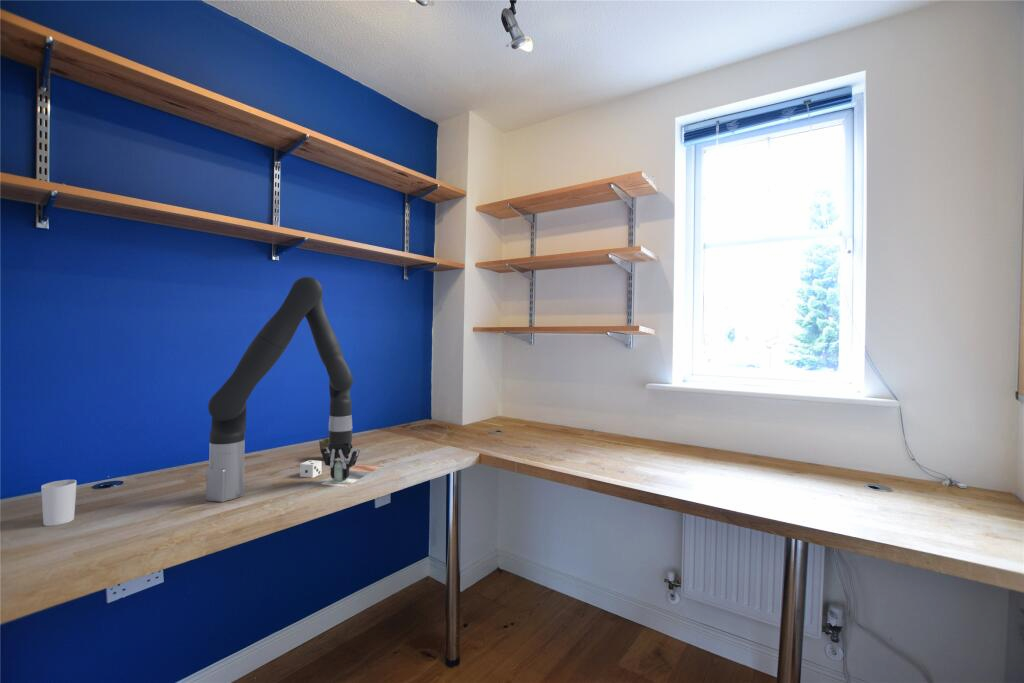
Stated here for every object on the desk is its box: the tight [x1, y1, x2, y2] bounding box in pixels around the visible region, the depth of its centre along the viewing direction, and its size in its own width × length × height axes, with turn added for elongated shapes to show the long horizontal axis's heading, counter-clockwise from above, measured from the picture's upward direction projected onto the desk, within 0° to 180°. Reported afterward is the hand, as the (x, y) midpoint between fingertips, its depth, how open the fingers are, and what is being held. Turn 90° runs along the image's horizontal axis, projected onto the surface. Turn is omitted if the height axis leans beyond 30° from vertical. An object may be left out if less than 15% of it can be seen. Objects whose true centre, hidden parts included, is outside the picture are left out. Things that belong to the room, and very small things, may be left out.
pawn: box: [332, 459, 349, 484], centre depth 153 cm, size 5×5×7 cm
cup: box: [318, 437, 331, 456], centre depth 181 cm, size 8×7×8 cm
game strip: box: [321, 463, 385, 488], centre depth 161 cm, size 25×11×1 cm, turn 168°
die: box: [299, 459, 323, 479], centre depth 159 cm, size 5×5×5 cm
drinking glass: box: [40, 479, 78, 527], centre depth 118 cm, size 7×7×10 cm
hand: (339, 478), depth 153 cm, fingers closed on pawn, 3 cm apart
